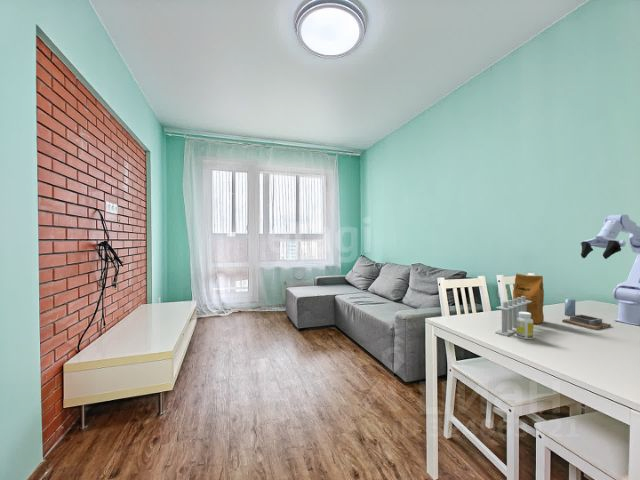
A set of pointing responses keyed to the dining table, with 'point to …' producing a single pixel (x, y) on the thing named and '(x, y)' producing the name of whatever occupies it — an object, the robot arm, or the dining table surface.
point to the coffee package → (531, 294)
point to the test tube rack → (511, 315)
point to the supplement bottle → (525, 325)
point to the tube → (569, 307)
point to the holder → (586, 322)
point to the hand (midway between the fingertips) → (593, 256)
